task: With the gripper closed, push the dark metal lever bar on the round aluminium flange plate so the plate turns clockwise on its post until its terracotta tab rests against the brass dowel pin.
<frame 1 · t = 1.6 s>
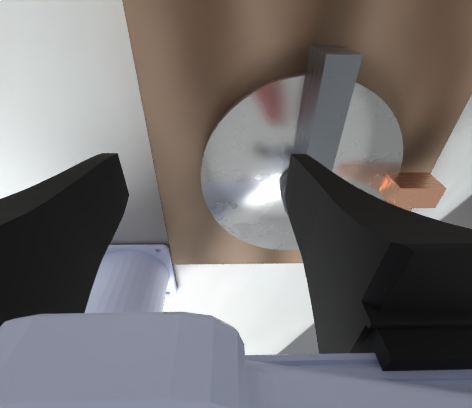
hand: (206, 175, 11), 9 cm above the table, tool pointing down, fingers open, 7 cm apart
flange plate: (319, 180, 18), point 4 cm above the table, hinge at 0.0°
base board: (291, 161, 22), on the table
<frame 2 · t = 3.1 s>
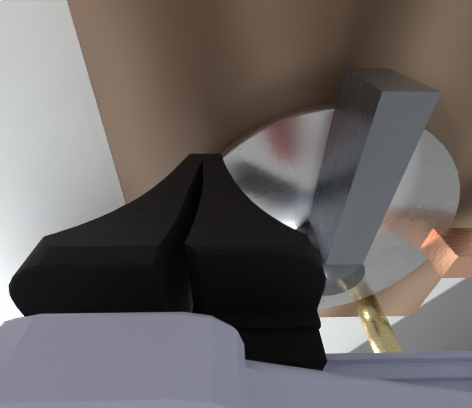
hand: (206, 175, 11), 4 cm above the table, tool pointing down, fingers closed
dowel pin: (351, 272, 21), resting on base board
flange plate: (346, 242, 14), point 4 cm above the table, hinge at 0.0°
base board: (305, 205, 17), on the table
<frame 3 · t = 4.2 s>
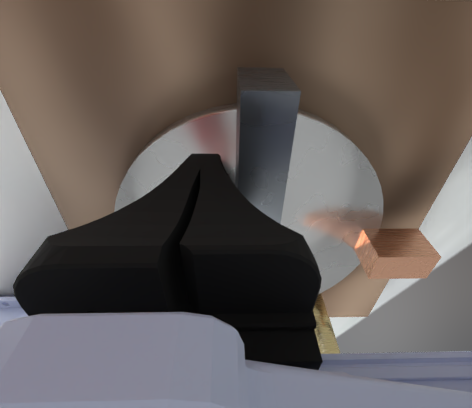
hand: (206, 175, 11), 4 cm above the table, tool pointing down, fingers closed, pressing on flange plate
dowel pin: (304, 272, 21), resting on base board
flange plate: (270, 243, 13), point 4 cm above the table, hinge at 0.0°, touching gripper
base board: (245, 206, 17), on the table
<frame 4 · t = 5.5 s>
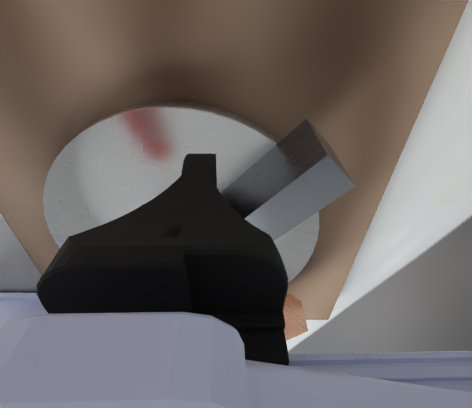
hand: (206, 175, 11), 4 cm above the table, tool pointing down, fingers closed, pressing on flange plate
flange plate: (208, 257, 14), point 4 cm above the table, hinge at 42.9°, touching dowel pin, gripper
base board: (193, 206, 17), on the table
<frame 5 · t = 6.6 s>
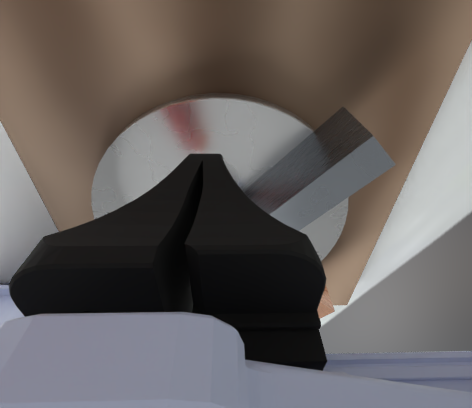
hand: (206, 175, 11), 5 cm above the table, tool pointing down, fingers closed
flange plate: (244, 240, 15), point 4 cm above the table, hinge at 42.8°, touching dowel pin
base board: (222, 195, 18), on the table
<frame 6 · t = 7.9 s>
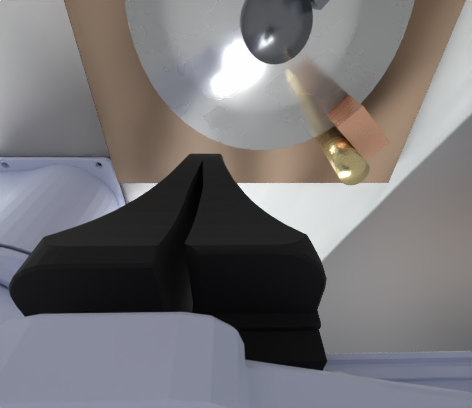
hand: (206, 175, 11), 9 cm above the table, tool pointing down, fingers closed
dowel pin: (321, 127, 20), resting on base board
flange plate: (298, 26, 13), point 4 cm above the table, hinge at 42.8°, touching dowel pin
base board: (263, 17, 16), on the table
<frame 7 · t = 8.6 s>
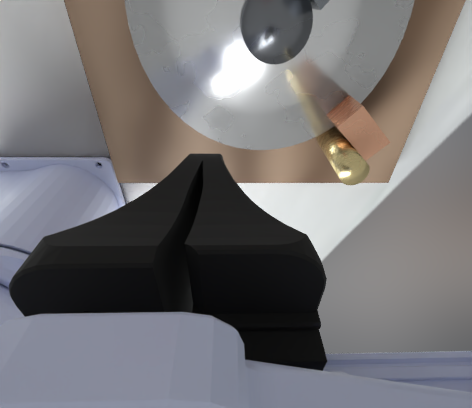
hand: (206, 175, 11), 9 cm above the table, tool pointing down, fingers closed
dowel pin: (321, 127, 20), resting on base board
flange plate: (298, 26, 13), point 4 cm above the table, hinge at 42.8°, touching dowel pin
base board: (263, 17, 16), on the table
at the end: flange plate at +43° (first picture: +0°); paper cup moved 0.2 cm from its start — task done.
